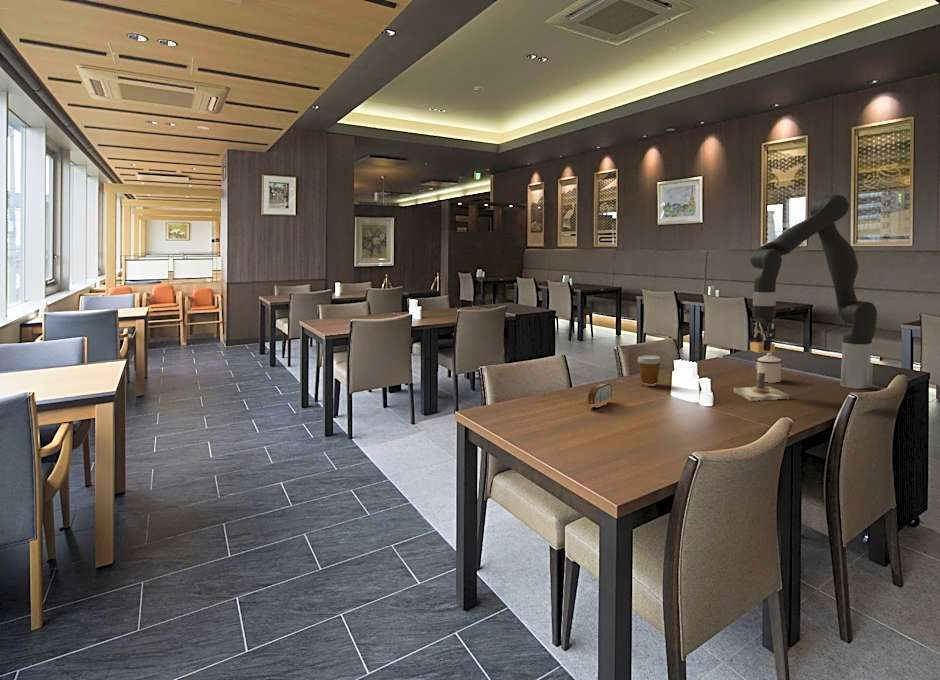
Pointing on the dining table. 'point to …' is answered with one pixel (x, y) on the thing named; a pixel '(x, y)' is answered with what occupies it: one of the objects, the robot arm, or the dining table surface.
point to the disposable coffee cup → (649, 368)
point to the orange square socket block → (760, 347)
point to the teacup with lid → (769, 368)
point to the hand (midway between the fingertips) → (762, 348)
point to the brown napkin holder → (599, 393)
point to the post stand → (761, 391)
